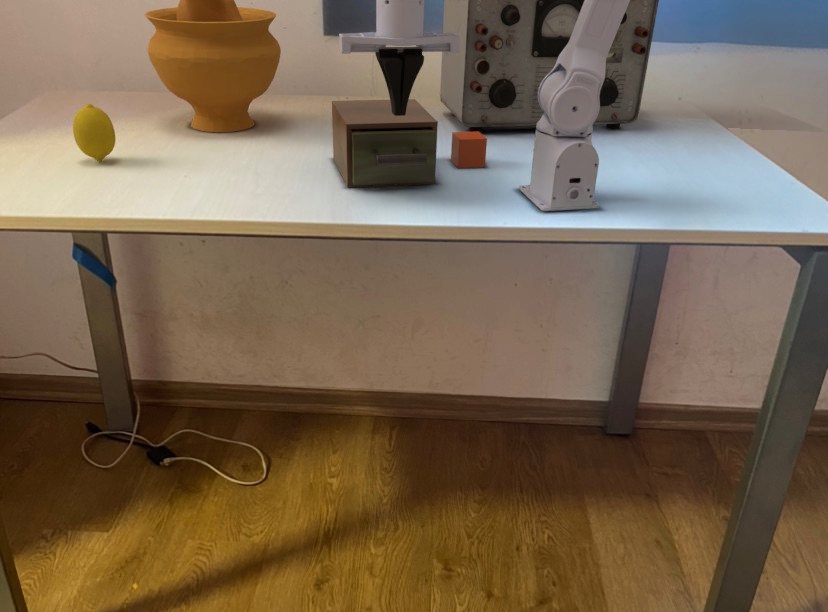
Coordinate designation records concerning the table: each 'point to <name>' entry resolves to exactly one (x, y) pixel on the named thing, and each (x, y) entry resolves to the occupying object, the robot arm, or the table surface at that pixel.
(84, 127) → the lemon
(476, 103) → the vintage electronic device
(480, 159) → the block
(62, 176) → the table surface
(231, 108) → the mortar and pestle
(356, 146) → the drawer
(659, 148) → the table surface
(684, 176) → the table surface
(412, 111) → the cabinet
